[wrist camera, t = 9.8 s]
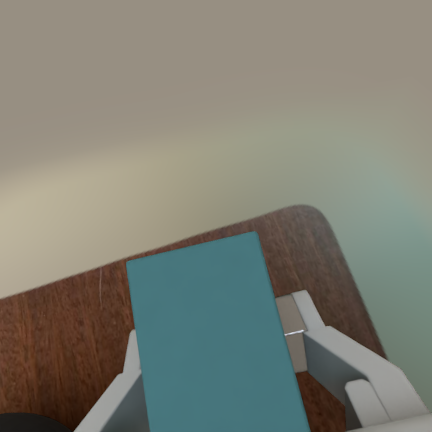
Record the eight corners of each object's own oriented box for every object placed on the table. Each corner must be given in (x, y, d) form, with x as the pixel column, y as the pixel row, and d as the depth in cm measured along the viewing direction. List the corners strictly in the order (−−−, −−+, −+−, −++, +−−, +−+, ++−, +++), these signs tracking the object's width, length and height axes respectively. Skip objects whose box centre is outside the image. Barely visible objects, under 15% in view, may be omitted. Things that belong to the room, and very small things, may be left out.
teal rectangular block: (248, 273, 17) (256, 229, 7) (275, 377, 15) (328, 499, 6) (192, 286, 17) (124, 261, 7) (213, 391, 15) (163, 536, 6)
